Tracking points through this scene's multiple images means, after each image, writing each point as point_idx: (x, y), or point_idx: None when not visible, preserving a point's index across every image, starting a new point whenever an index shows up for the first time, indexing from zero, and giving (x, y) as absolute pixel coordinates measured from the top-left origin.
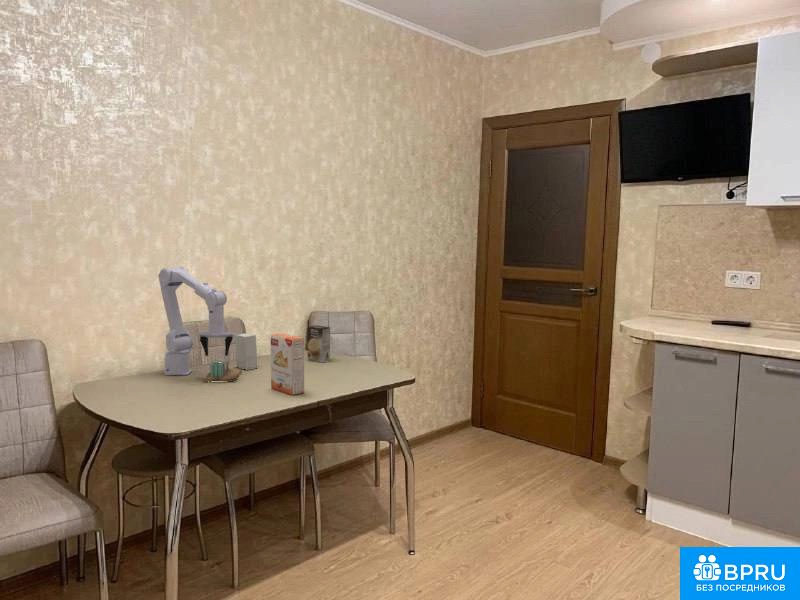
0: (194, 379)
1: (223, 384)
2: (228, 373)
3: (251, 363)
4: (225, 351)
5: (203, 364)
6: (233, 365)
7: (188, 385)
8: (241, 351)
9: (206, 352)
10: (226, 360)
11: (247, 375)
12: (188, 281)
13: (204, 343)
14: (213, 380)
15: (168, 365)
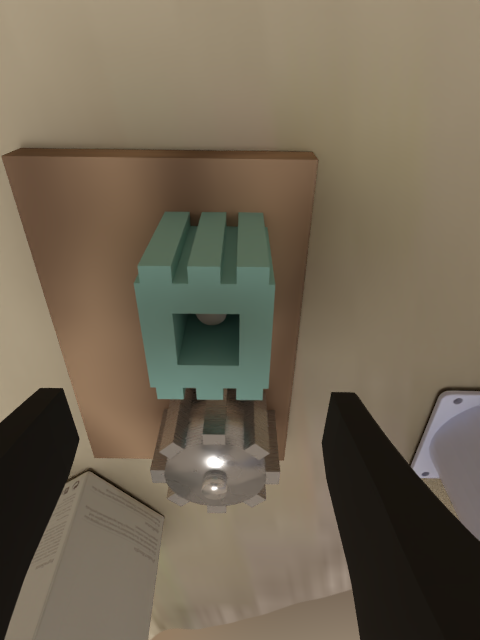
0: (400, 270)
1: (105, 41)
2: (140, 343)
3: (51, 516)
4: (17, 433)
5: (345, 562)
6: (194, 545)
7: (475, 10)
8: (92, 611)
9: (355, 427)
10: (176, 497)
11: (27, 364)
12: None
13: (475, 607)
14: (227, 154)
15: None
